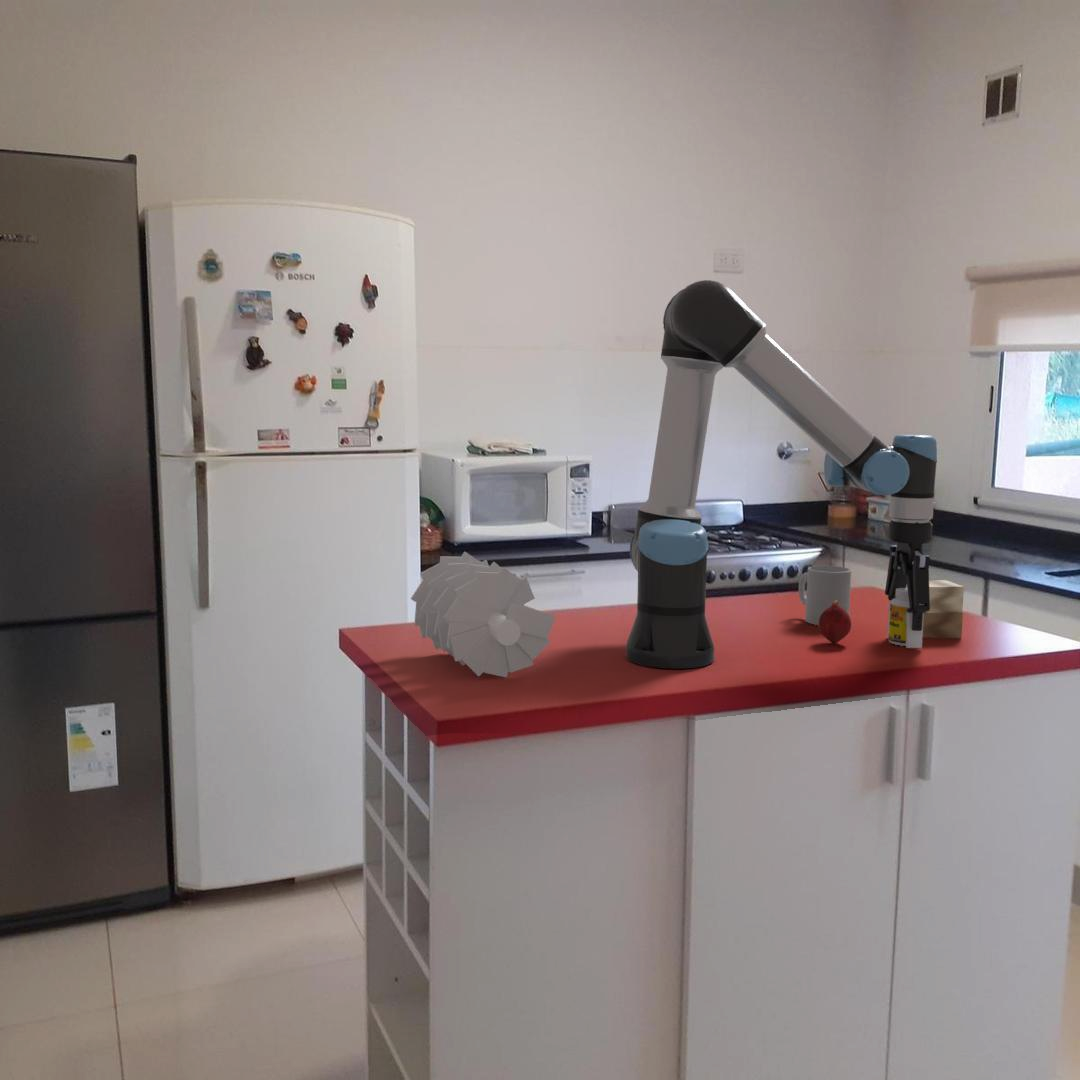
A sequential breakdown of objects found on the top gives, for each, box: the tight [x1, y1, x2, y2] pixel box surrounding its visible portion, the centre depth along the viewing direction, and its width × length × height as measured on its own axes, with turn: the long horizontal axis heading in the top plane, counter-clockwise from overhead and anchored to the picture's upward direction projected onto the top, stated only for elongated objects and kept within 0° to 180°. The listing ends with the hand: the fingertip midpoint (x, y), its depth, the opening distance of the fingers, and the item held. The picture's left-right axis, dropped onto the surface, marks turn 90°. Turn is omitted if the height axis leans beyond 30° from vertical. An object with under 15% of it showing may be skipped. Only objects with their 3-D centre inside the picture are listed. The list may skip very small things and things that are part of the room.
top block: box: [925, 579, 965, 613], centre depth 210 cm, size 7×7×5 cm
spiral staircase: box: [410, 551, 556, 678], centre depth 183 cm, size 18×18×25 cm
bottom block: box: [923, 612, 964, 639], centre depth 211 cm, size 8×8×5 cm
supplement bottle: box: [888, 587, 910, 647], centre depth 201 cm, size 6×6×10 cm
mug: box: [798, 565, 852, 626], centre depth 221 cm, size 12×8×11 cm
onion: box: [818, 601, 852, 644], centre depth 201 cm, size 6×6×8 cm
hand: (904, 641), depth 202 cm, fingers open, 9 cm apart
